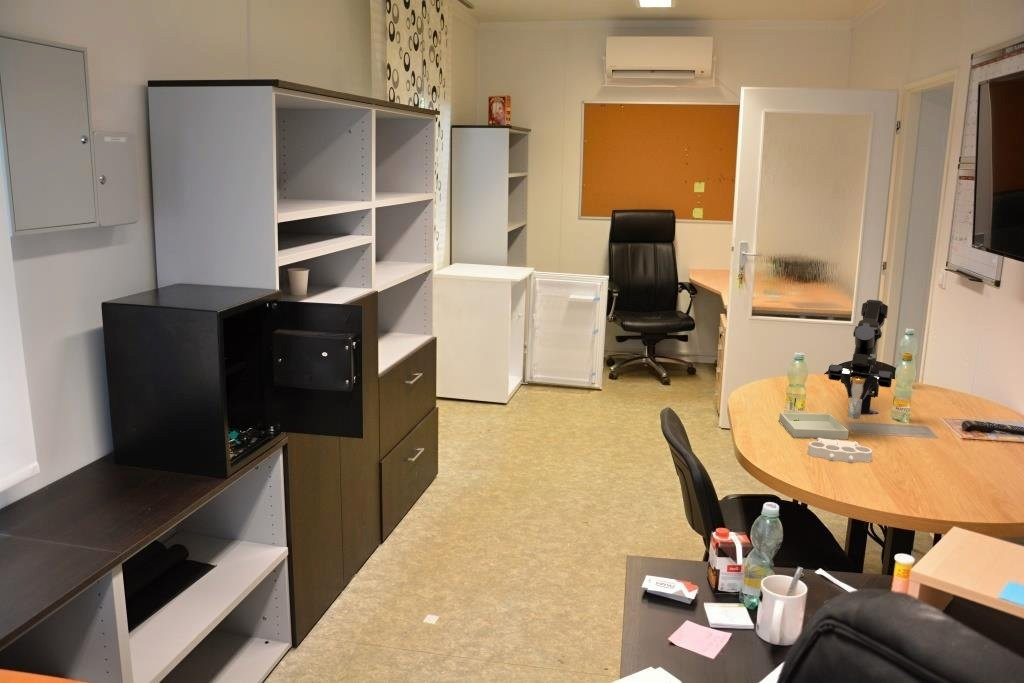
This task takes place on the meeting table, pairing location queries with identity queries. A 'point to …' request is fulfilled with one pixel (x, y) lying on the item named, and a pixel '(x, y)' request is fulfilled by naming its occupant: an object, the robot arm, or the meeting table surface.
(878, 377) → the robot arm
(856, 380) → the grey cylinder
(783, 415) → the tray
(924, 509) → the meeting table surface
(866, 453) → the white brass knuckles
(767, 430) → the meeting table surface
